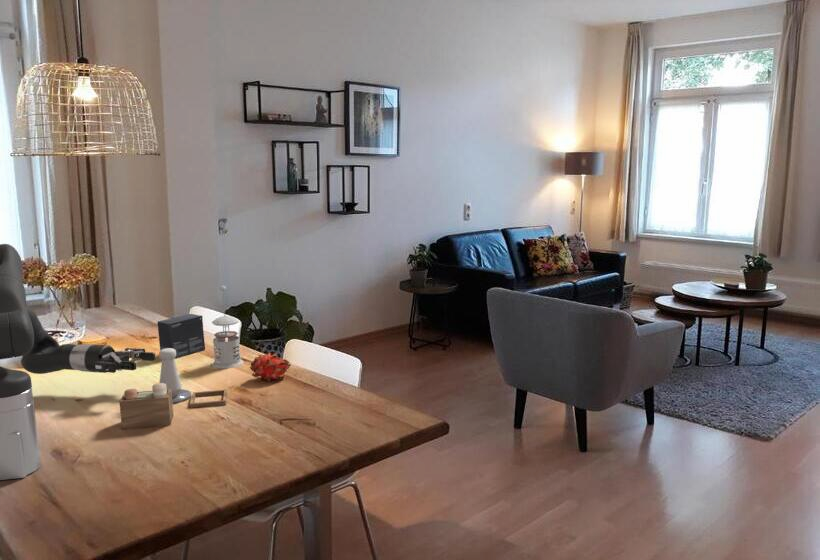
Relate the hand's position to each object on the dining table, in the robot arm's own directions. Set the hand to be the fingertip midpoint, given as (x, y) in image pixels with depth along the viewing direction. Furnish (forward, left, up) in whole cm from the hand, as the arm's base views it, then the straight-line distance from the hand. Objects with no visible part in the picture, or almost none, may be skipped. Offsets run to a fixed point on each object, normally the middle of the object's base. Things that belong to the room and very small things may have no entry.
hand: (145, 361), depth 177 cm
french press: (+26, -20, -10) cm, 34 cm away
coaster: (-3, -6, -10) cm, 12 cm away
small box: (+41, -5, -10) cm, 42 cm away
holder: (-7, -16, -10) cm, 21 cm away
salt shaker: (-3, -6, -10) cm, 12 cm away
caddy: (-19, -3, -10) cm, 22 cm away
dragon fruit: (+7, -33, -10) cm, 35 cm away
